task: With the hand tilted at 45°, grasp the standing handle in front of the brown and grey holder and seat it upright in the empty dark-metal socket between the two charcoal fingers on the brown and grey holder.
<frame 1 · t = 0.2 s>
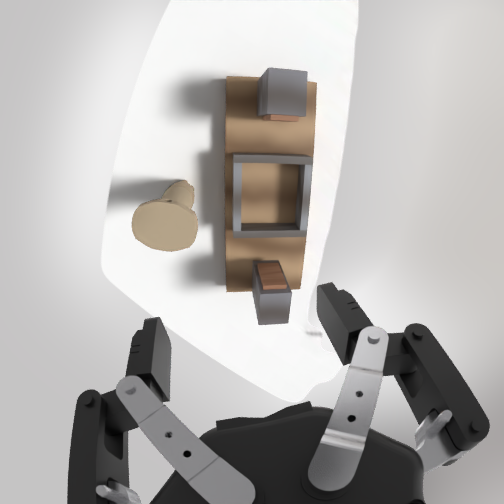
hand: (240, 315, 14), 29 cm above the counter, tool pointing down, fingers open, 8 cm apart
brown and grey holder: (266, 189, 40), on the counter
handle: (183, 190, 39), on the counter
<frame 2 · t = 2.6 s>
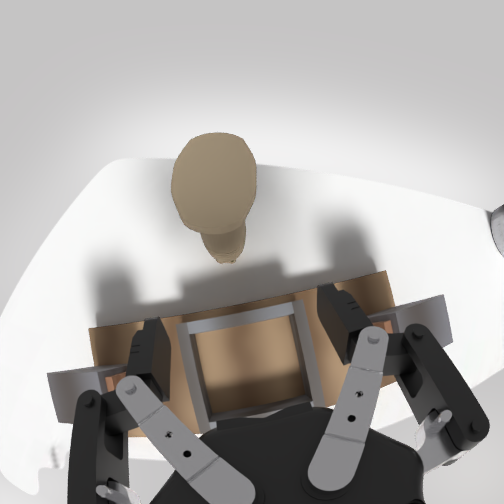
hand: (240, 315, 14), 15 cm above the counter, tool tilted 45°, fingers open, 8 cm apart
brown and grey holder: (250, 364, 27), on the counter
handle: (226, 251, 30), on the counter
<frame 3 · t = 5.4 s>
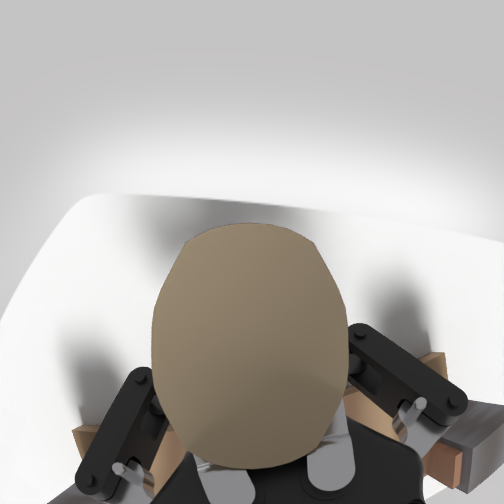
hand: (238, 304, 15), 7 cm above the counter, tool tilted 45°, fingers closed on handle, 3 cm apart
brown and grey holder: (276, 471, 18), on the counter
handle: (245, 338, 21), on the counter, touching gripper
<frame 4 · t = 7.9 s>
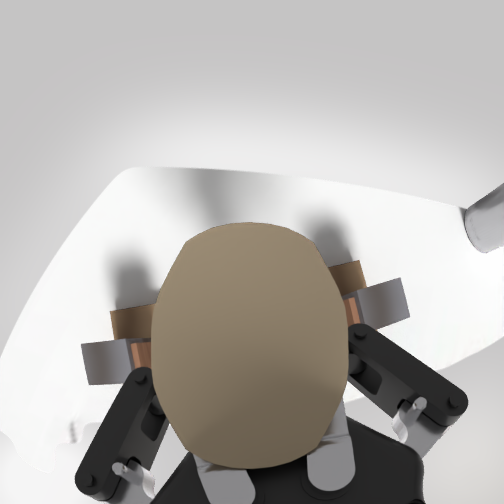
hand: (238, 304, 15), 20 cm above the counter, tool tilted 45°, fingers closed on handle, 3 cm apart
brown and grey holder: (245, 338, 33), on the counter
handle: (245, 338, 21), point 13 cm above the counter, touching gripper
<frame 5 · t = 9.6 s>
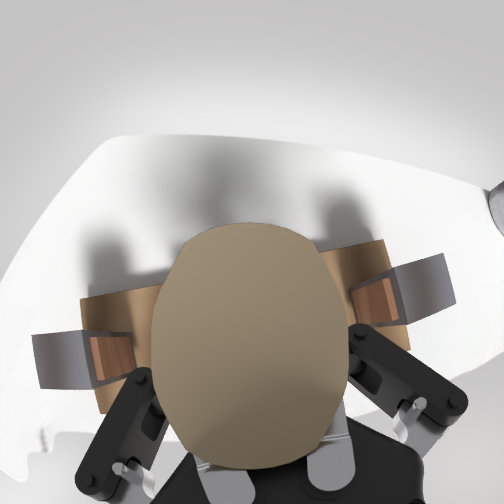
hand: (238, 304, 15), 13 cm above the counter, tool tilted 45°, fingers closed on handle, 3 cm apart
brown and grey holder: (244, 335, 26), on the counter
handle: (245, 338, 21), point 6 cm above the counter, touching gripper
when the fingers open (10 cm above the counter, at t = 10.5 s): handle drops 1 cm, resting on brown and grey holder.
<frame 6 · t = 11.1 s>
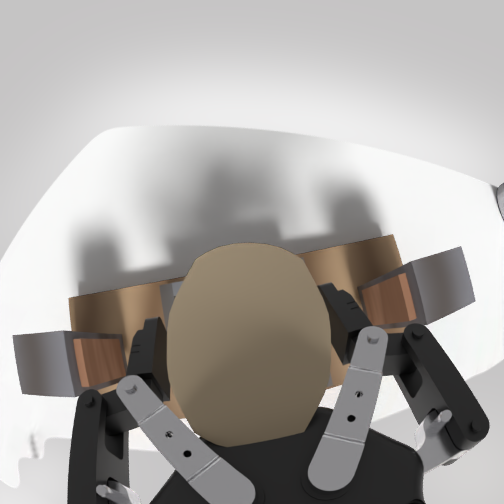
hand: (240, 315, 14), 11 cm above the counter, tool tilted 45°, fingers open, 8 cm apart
brown and grey holder: (244, 337, 24), on the counter
handle: (246, 339, 22), point 2 cm above the counter, touching brown and grey holder
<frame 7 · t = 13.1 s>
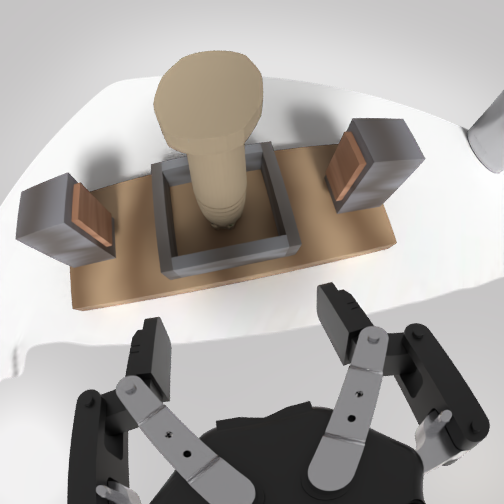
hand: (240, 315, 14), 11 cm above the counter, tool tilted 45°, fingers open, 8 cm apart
brown and grey holder: (223, 222, 27), on the counter
handle: (224, 216, 25), point 2 cm above the counter, touching brown and grey holder
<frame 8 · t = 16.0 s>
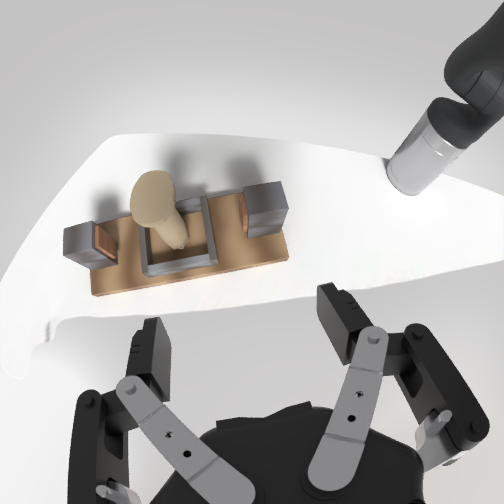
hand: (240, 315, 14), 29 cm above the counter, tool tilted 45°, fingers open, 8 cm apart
brown and grey holder: (181, 244, 45), on the counter
handle: (179, 241, 43), point 2 cm above the counter, touching brown and grey holder
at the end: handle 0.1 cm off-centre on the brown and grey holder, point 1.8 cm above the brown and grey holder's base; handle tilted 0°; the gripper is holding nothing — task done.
